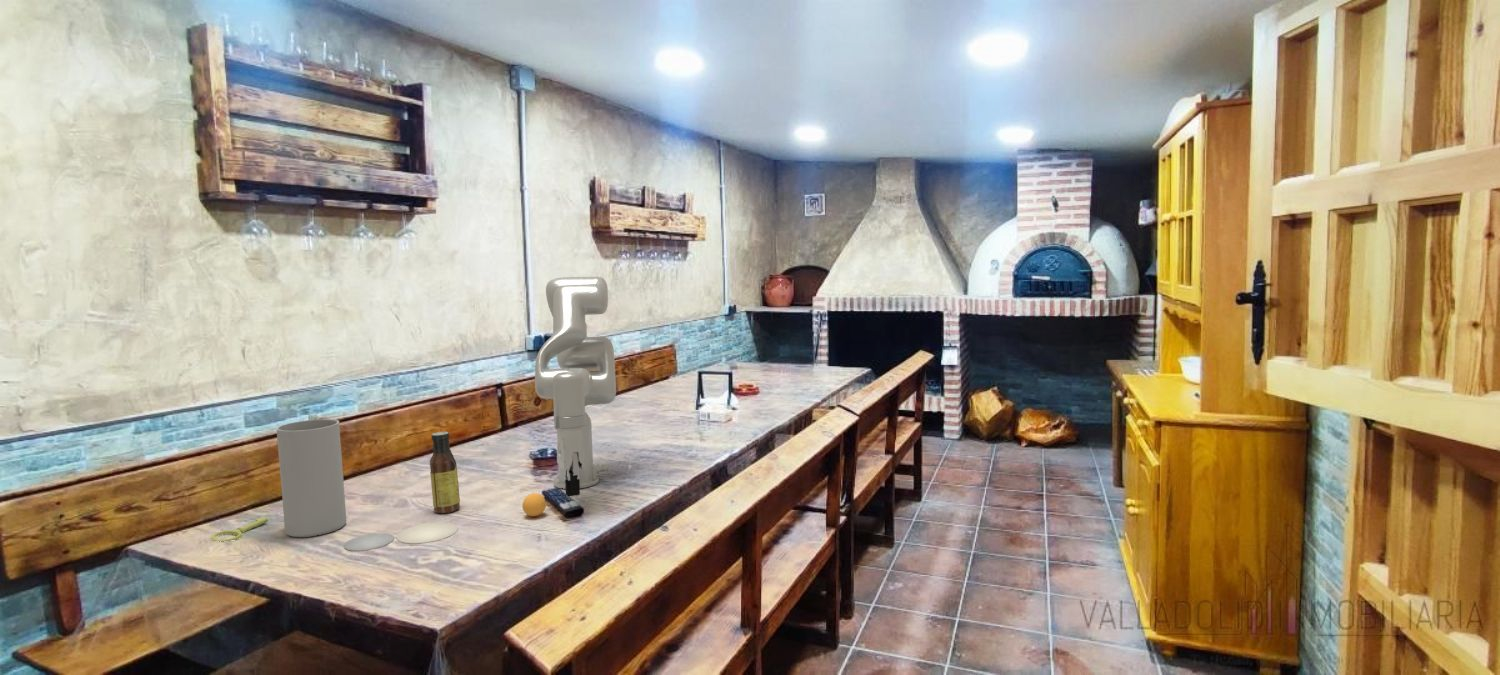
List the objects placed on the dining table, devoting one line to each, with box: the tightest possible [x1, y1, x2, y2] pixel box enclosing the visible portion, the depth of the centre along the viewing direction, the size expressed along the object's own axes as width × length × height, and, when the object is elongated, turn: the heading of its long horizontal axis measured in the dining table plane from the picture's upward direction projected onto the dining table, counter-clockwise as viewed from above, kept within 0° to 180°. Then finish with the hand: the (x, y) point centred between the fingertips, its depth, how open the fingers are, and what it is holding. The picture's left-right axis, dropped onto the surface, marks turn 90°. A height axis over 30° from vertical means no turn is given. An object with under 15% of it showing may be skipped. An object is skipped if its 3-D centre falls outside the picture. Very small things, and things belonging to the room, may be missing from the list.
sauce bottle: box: [429, 431, 461, 514], centre depth 183 cm, size 6×6×20 cm
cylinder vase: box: [276, 418, 347, 538], centre depth 171 cm, size 12×12×25 cm
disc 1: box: [343, 532, 395, 552], centre depth 163 cm, size 10×10×1 cm
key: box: [210, 516, 269, 543], centre depth 171 cm, size 7×12×2 cm, turn 179°
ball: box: [522, 493, 547, 517], centre depth 178 cm, size 6×6×6 cm
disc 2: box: [396, 521, 459, 545], centre depth 168 cm, size 13×13×1 cm
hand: (572, 494), depth 181 cm, fingers closed
